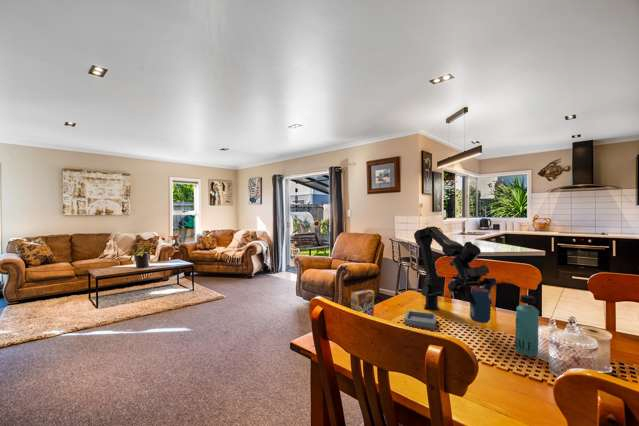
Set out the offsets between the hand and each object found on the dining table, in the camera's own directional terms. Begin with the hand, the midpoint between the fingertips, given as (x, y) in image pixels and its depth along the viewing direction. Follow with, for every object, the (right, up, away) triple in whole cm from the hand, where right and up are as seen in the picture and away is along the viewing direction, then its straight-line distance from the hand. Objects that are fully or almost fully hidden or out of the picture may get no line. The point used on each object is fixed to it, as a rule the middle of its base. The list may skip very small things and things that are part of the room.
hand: (482, 304), depth 114 cm
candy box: (-45, -12, +5) cm, 47 cm away
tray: (-19, -12, +14) cm, 26 cm away
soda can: (0, -7, +2) cm, 7 cm away
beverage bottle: (+6, -13, -15) cm, 21 cm away
